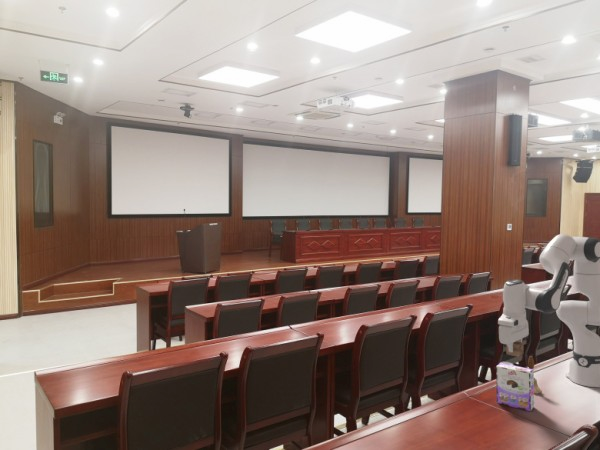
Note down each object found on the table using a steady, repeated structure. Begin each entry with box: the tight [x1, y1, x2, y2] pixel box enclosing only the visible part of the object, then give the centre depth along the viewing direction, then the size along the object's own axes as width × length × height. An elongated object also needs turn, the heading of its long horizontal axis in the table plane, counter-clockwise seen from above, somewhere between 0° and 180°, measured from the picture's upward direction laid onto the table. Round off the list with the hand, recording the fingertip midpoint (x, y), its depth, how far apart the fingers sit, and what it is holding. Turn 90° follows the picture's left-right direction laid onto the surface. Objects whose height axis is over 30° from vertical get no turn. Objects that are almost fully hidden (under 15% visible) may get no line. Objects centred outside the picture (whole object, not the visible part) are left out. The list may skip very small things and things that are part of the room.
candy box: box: [495, 362, 535, 412], centre depth 186 cm, size 14×6×16 cm, turn 47°
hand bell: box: [527, 355, 542, 395], centre depth 201 cm, size 8×8×16 cm
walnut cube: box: [505, 341, 525, 357], centre depth 185 cm, size 5×5×5 cm
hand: (514, 350), depth 185 cm, fingers closed on walnut cube, 5 cm apart
